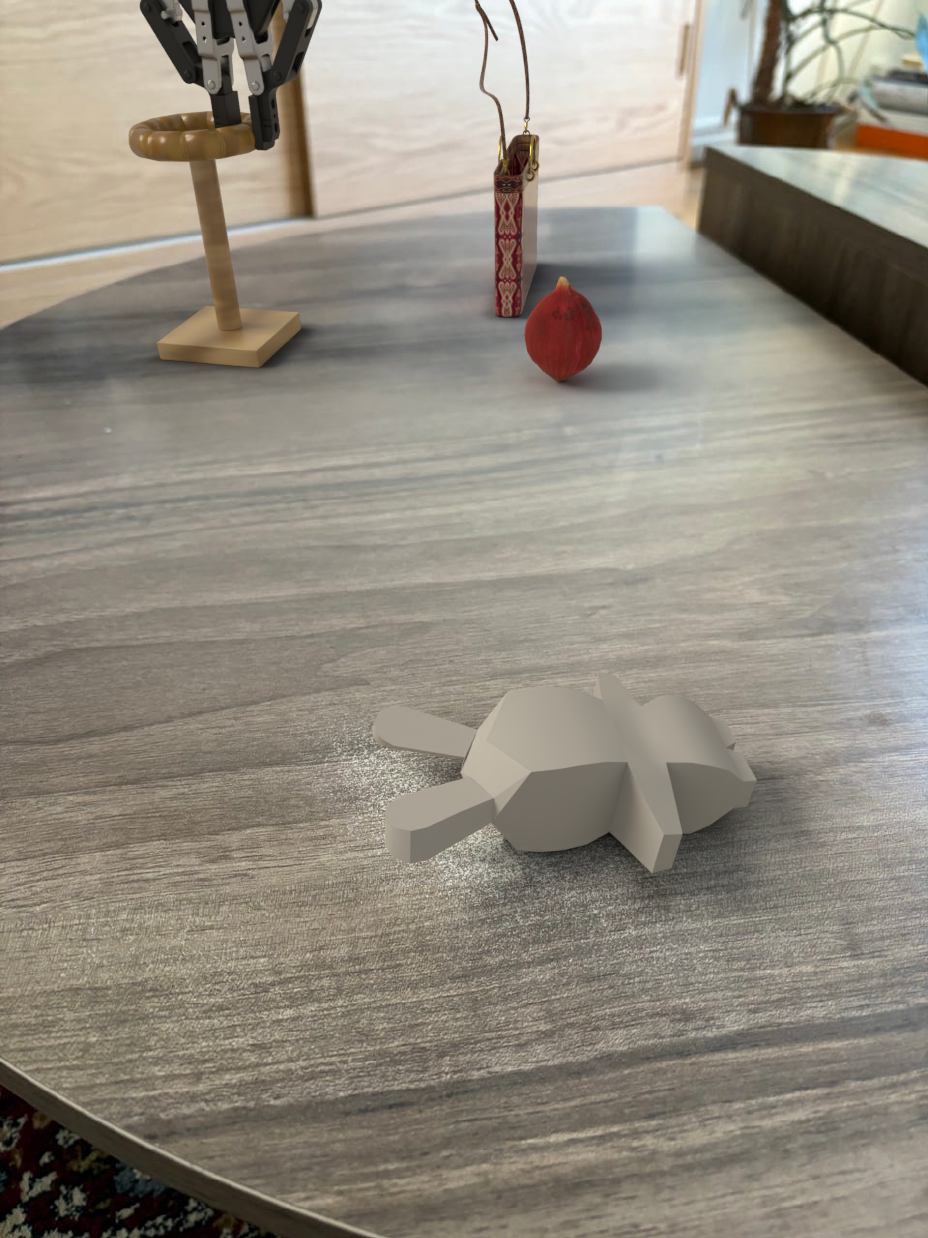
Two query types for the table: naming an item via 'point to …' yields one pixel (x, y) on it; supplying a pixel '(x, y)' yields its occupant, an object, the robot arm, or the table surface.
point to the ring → (190, 138)
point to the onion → (563, 332)
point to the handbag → (514, 200)
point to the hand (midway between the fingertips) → (249, 146)
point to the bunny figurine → (569, 773)
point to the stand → (224, 298)
